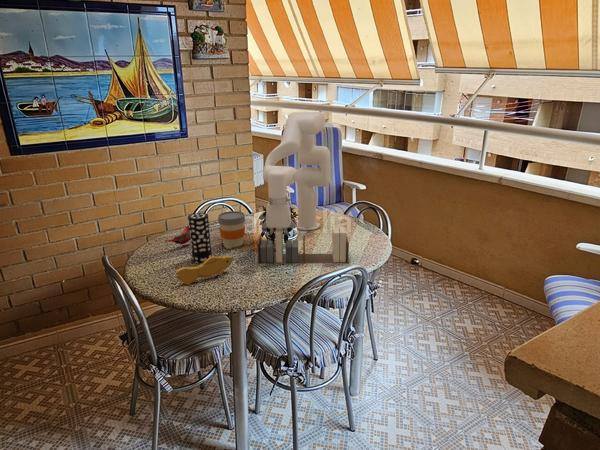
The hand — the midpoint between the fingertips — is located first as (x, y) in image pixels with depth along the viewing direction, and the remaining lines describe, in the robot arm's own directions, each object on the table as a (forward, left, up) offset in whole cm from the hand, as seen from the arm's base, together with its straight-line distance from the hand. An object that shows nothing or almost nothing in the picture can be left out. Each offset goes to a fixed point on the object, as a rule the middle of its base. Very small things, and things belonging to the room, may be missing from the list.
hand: (279, 241), depth 172 cm
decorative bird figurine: (-16, -47, -9) cm, 51 cm away
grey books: (0, 0, -8) cm, 8 cm away
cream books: (0, +25, -8) cm, 26 cm away
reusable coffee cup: (-18, -23, -9) cm, 31 cm away
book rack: (0, +10, -9) cm, 13 cm away
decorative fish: (+17, -28, -9) cm, 34 cm away
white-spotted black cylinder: (-2, -34, -9) cm, 35 cm away
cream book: (0, 0, -8) cm, 8 cm away
